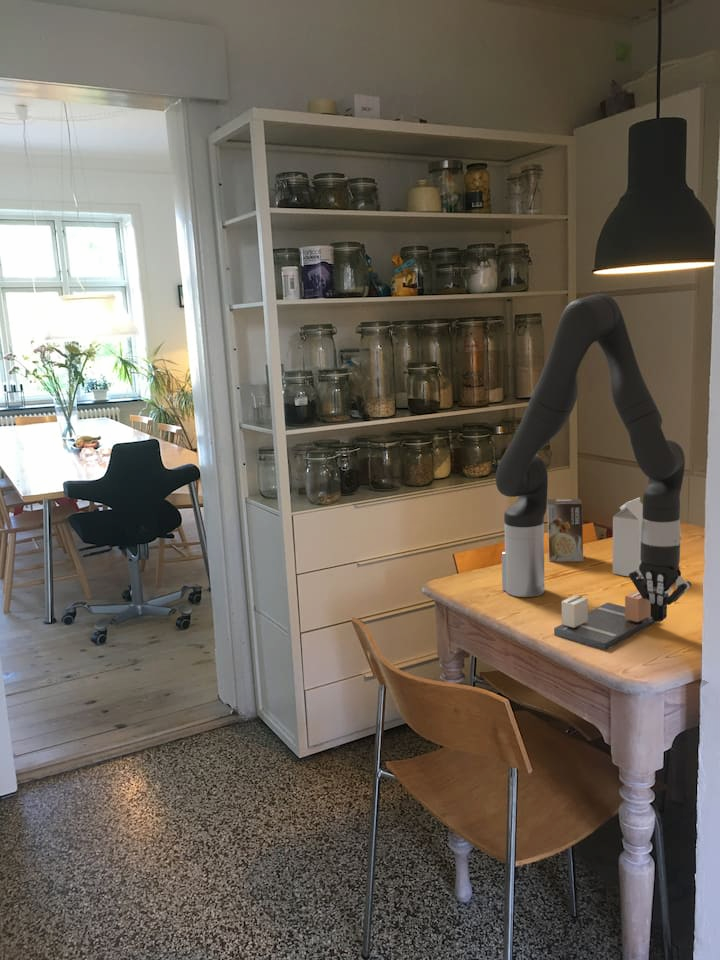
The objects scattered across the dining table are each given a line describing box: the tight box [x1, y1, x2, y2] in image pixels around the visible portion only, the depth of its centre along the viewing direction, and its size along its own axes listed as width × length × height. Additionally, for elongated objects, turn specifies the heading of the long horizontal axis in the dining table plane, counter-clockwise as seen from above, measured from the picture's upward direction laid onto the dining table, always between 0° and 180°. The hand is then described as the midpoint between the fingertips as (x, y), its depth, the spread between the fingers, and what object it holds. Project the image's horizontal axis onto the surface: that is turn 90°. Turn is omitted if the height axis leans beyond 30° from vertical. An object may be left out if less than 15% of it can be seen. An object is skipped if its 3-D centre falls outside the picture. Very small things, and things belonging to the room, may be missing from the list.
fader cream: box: [561, 595, 589, 628], centre depth 167 cm, size 3×5×5 cm, turn 131°
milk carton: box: [612, 497, 643, 578], centre depth 200 cm, size 7×7×19 cm
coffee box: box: [547, 498, 584, 563], centre depth 215 cm, size 9×6×16 cm
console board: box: [553, 602, 658, 651], centre depth 168 cm, size 12×20×2 cm, turn 131°
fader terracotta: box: [624, 589, 651, 622], centre depth 168 cm, size 3×5×5 cm, turn 131°
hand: (658, 620), depth 165 cm, fingers closed
